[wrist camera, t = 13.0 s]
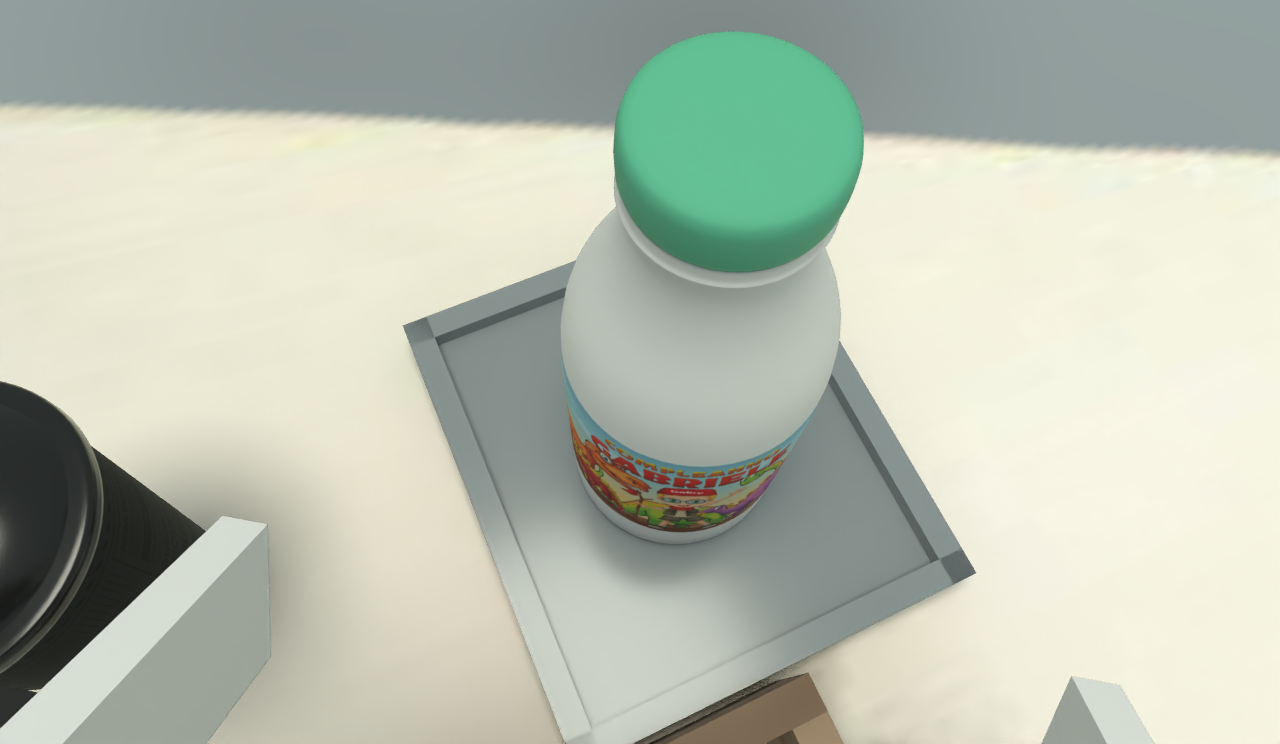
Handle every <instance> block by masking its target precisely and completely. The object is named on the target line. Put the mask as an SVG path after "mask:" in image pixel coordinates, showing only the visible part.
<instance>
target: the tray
mask: <svg viewBox="0 0 1280 744" xmlns="http://www.w3.org/2000/svg"><path fill="white" fill-rule="evenodd" d="M575 262H576V261H573V262H571V263H568V264H565V265H563V266H560V267H557V268H555V269H552V270H549V271H547V272H544V273H541V274H539V275H536V276H533V277H531V278H528V279H525V280H523V281H520V282H518V283H515V284H512V285H510V286H507V287H504V288H502V289H499V290H496V291H494V292H491V293H488V294H486V295H483V296H480V297H478V298H475V299H472V300H470V301H467V302H464V303H462V304H459V305H456V306H454V307H451V308H448V309H446V310H443V311H440V312H438V313H435V314H432V315H430V316H427V317H425V318H422V319H419V320H417V321H414V322H411V323H409V324H406V325H403V327H404V330H405V333H406V335H407V338H408V340H409V343H410V345H411V348H412V351H413V353H414V356H415V358H416V361H417V363H418V366H419V369H420V371H421V374H422V376H423V379H424V382H425V384H426V387H427V389H428V392H429V394H430V397H431V400H432V402H433V405H434V407H435V410H436V412H437V415H438V418H439V420H440V423H441V425H442V428H443V431H444V433H445V436H446V438H447V441H448V443H449V446H450V449H451V451H452V454H453V456H454V459H455V461H456V464H457V467H458V469H459V472H460V474H461V477H462V479H463V482H464V485H465V487H466V490H467V492H468V495H469V498H470V500H471V503H472V505H473V508H474V510H475V513H476V516H477V518H478V521H479V523H480V526H481V528H482V531H483V534H484V536H485V539H486V541H487V544H488V547H489V549H490V552H491V554H492V557H493V559H494V562H495V565H496V567H497V570H498V572H499V575H500V577H501V580H502V583H503V585H504V588H505V590H506V593H507V596H508V598H509V601H510V603H511V606H512V608H513V611H514V614H515V616H516V619H517V621H518V624H519V626H520V629H521V632H522V634H523V637H524V639H525V642H526V644H527V647H528V650H529V652H530V655H531V657H532V660H533V663H534V665H535V668H536V670H537V673H538V675H539V678H540V681H541V683H542V686H543V688H544V691H545V693H546V696H547V699H548V701H549V704H550V706H551V709H552V712H553V714H554V717H555V719H556V722H557V724H558V727H559V730H560V732H561V735H562V737H563V740H564V742H565V744H633V743H635V742H637V741H639V740H641V739H643V738H645V737H647V736H649V735H651V734H653V733H655V732H657V731H659V730H661V729H663V728H665V727H667V726H669V725H671V724H673V723H675V722H677V721H679V720H681V719H683V718H685V717H687V716H689V715H691V714H693V713H695V712H697V711H699V710H701V709H703V708H705V707H707V706H709V705H711V704H713V703H715V702H718V701H720V700H722V699H724V698H726V697H728V696H730V695H732V694H734V693H736V692H738V691H740V690H742V689H744V688H746V687H748V686H750V685H752V684H754V683H756V682H758V681H760V680H762V679H764V678H766V677H768V676H770V675H772V674H774V673H776V672H778V671H780V670H782V669H784V668H786V667H788V666H790V665H792V664H794V663H796V662H798V661H800V660H802V659H804V658H806V657H808V656H810V655H812V654H814V653H816V652H818V651H820V650H822V649H824V648H826V647H828V646H830V645H832V644H834V643H836V642H838V641H840V640H842V639H844V638H846V637H848V636H850V635H852V634H854V633H856V632H858V631H860V630H863V629H865V628H867V627H869V626H871V625H873V624H875V623H877V622H879V621H881V620H883V619H885V618H887V617H889V616H891V615H893V614H895V613H897V612H899V611H901V610H903V609H905V608H907V607H909V606H911V605H913V604H915V603H917V602H919V601H921V600H923V599H925V598H927V597H929V596H931V595H933V594H935V593H937V592H939V591H941V590H943V589H945V588H947V587H949V586H951V585H953V584H955V583H957V582H959V581H961V580H963V579H965V578H967V577H969V576H971V575H973V574H975V573H976V572H975V570H974V568H973V567H972V565H971V563H970V561H969V560H968V558H967V556H966V555H965V553H964V551H963V550H962V548H961V546H960V544H959V543H958V541H957V539H956V538H955V536H954V534H953V533H952V531H951V529H950V528H949V526H948V524H947V522H946V521H945V519H944V517H943V516H942V514H941V512H940V511H939V509H938V507H937V505H936V504H935V502H934V500H933V499H932V497H931V495H930V494H929V492H928V490H927V489H926V487H925V485H924V483H923V482H922V480H921V478H920V477H919V475H918V473H917V472H916V470H915V468H914V466H913V465H912V463H911V461H910V460H909V458H908V456H907V455H906V453H905V451H904V450H903V448H902V446H901V444H900V443H899V441H898V439H897V438H896V436H895V434H894V433H893V431H892V429H891V427H890V426H889V424H888V422H887V421H886V419H885V417H884V416H883V414H882V412H881V411H880V409H879V407H878V405H877V404H876V402H875V400H874V399H873V397H872V395H871V394H870V392H869V390H868V388H867V387H866V385H865V383H864V382H863V380H862V378H861V377H860V375H859V373H858V372H857V370H856V368H855V366H854V365H853V363H852V361H851V360H850V358H849V356H848V355H847V353H846V351H845V349H844V348H843V346H842V344H841V343H840V341H839V345H838V350H837V354H836V358H835V362H834V365H833V369H832V373H831V376H830V379H829V381H828V384H827V386H826V388H825V390H824V392H823V394H822V396H821V398H820V400H819V402H818V404H817V406H816V408H815V410H814V412H813V414H812V416H811V418H810V420H809V422H808V423H807V425H806V427H805V428H804V430H803V432H802V433H801V435H800V437H799V438H798V440H797V442H796V443H795V445H794V446H793V448H792V450H791V451H790V453H789V455H788V456H787V458H786V459H785V461H784V462H783V464H782V466H781V467H780V469H779V470H778V472H777V473H776V475H775V477H774V478H773V480H772V481H771V483H770V484H769V486H768V487H767V489H766V490H765V492H764V493H763V495H762V496H761V498H760V499H759V501H758V502H757V503H756V504H755V506H754V507H753V508H752V509H751V510H750V512H749V513H748V514H747V515H746V516H745V517H744V518H743V519H742V520H741V521H739V522H738V523H737V524H736V525H734V526H733V527H731V528H730V529H728V530H727V531H725V532H723V533H721V534H719V535H717V536H715V537H712V538H709V539H707V540H703V541H699V542H694V543H688V544H665V543H657V542H653V541H649V540H646V539H643V538H640V537H637V536H635V535H633V534H630V533H628V532H627V531H625V530H623V529H621V528H620V527H618V526H617V525H616V524H614V523H613V522H612V521H610V520H609V519H608V518H607V517H606V516H605V515H604V514H603V513H602V512H601V511H600V510H599V509H598V508H597V506H596V505H595V504H594V502H593V501H592V500H591V498H590V496H589V495H588V493H587V491H586V489H585V487H584V485H583V483H582V480H581V477H580V474H579V471H578V467H577V463H576V459H575V454H574V447H573V441H572V434H571V428H570V421H569V414H568V407H567V401H566V393H565V385H564V377H563V369H562V351H561V316H562V309H563V303H564V297H565V291H566V288H567V284H568V281H569V278H570V275H571V272H572V270H573V267H574V265H575Z"/></svg>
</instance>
